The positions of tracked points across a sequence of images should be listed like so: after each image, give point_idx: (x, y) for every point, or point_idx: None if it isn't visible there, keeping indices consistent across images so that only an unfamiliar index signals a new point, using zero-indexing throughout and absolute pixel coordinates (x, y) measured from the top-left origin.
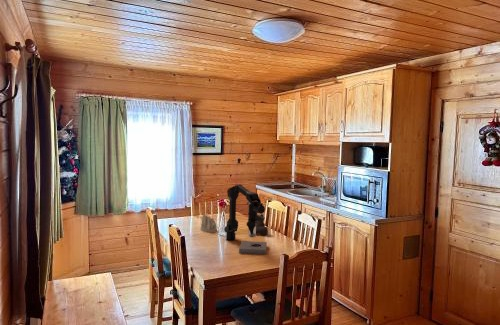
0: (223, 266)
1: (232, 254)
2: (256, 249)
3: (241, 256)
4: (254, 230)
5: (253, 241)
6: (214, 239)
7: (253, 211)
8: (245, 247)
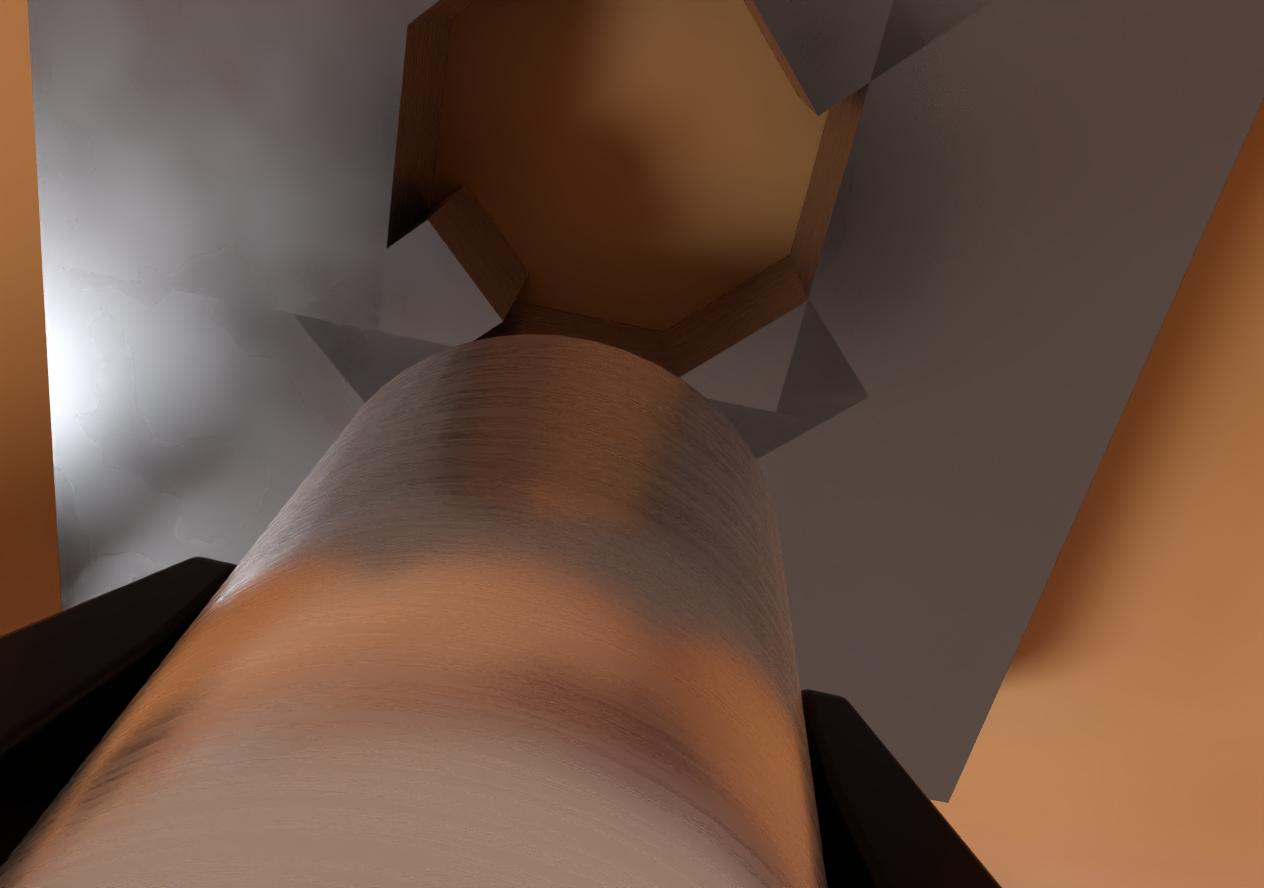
0: None
1: (996, 852)
2: (1182, 238)
3: (1222, 673)
4: (777, 781)
5: (51, 215)
6: None
7: None
8: (845, 609)
